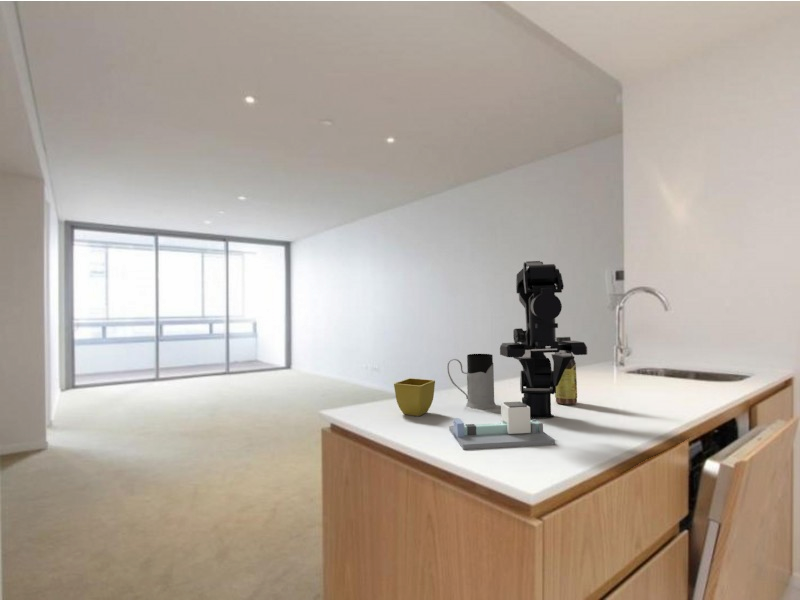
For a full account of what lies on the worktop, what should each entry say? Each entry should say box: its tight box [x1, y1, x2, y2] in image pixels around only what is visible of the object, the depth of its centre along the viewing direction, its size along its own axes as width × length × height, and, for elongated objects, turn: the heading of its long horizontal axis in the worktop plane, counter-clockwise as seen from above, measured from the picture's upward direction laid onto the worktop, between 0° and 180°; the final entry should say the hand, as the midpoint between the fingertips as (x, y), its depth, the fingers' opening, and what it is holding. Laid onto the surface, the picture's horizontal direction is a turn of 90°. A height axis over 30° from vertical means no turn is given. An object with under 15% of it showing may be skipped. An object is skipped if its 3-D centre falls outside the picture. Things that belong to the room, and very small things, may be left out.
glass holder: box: [447, 353, 497, 410], centre depth 129 cm, size 9×14×15 cm, turn 74°
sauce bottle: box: [554, 336, 578, 406], centre depth 129 cm, size 6×6×20 cm
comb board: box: [448, 418, 556, 450], centre depth 98 cm, size 20×14×4 cm
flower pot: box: [393, 377, 436, 417], centre depth 120 cm, size 9×9×9 cm
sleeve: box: [500, 401, 531, 434], centre depth 98 cm, size 5×5×6 cm
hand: (543, 386), depth 99 cm, fingers open, 5 cm apart
